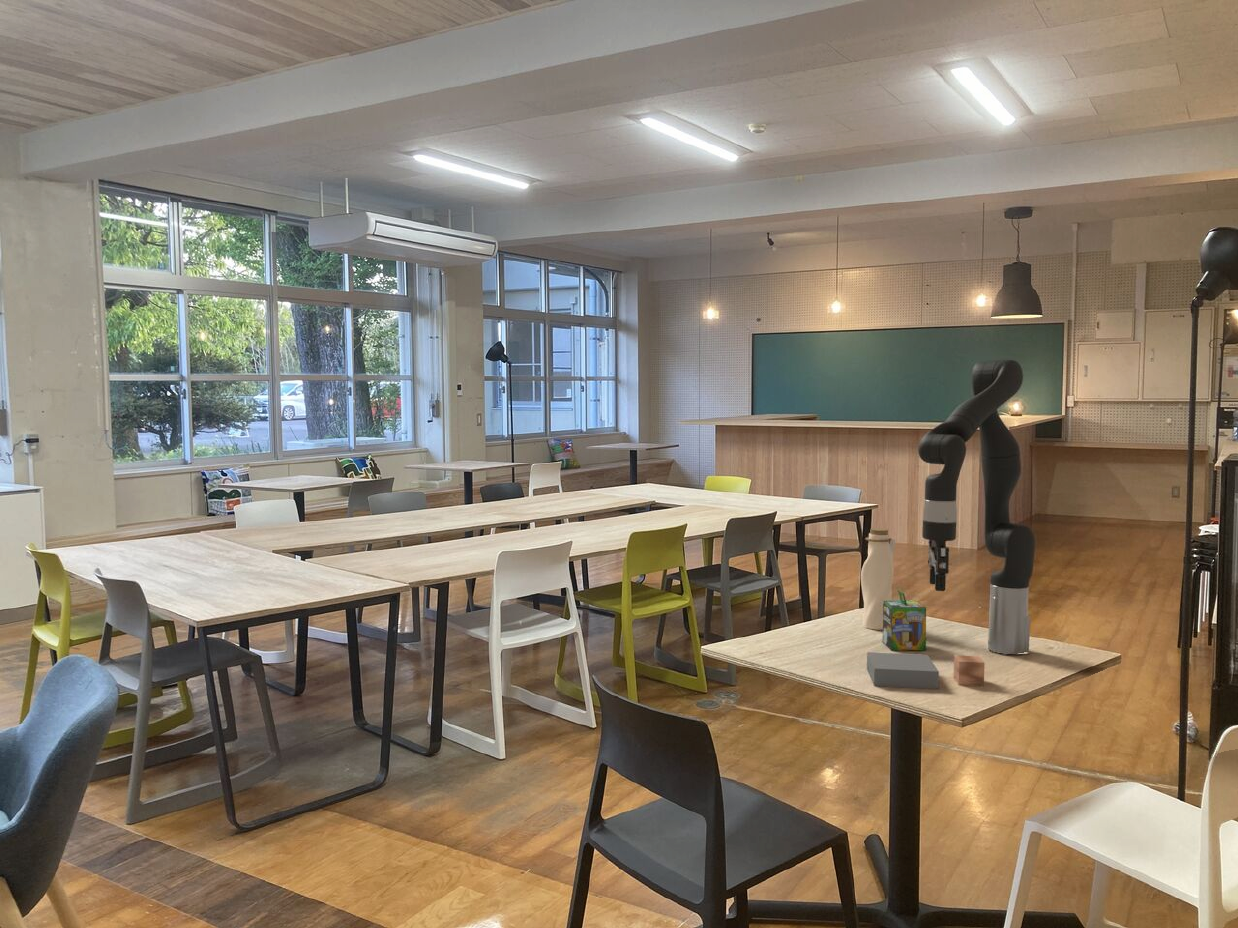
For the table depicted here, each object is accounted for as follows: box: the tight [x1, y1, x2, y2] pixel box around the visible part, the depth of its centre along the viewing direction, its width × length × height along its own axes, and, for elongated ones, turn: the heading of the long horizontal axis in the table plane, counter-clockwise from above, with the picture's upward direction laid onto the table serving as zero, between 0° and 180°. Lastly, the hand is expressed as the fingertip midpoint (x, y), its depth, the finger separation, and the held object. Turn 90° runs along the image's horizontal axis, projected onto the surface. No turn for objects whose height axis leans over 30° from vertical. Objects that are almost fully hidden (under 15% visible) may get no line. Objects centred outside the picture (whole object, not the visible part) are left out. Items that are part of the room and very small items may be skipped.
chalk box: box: [882, 589, 927, 651], centre depth 248 cm, size 9×9×15 cm
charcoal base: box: [866, 651, 940, 690], centre depth 220 cm, size 14×14×4 cm
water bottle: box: [860, 527, 896, 631], centre depth 270 cm, size 10×9×28 cm
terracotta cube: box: [953, 654, 986, 687], centre depth 217 cm, size 6×6×6 cm
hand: (937, 587), depth 224 cm, fingers open, 8 cm apart
